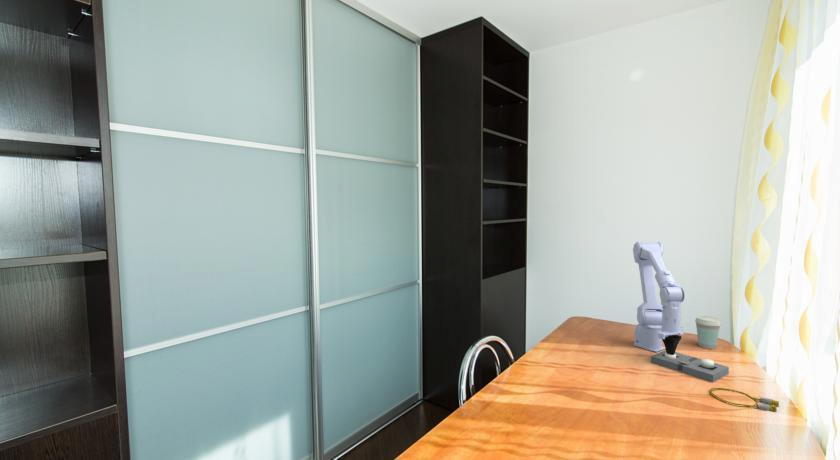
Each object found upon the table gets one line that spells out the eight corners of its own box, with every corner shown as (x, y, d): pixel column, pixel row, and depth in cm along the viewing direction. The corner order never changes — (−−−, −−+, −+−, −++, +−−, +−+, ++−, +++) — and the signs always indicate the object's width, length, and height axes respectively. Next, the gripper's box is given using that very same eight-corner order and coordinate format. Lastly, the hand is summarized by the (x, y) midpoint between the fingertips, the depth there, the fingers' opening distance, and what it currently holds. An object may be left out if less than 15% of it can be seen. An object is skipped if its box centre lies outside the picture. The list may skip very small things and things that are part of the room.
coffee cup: (711, 343, 164) (712, 315, 163) (725, 350, 156) (725, 321, 155) (690, 343, 165) (690, 315, 164) (702, 350, 156) (703, 321, 156)
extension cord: (763, 419, 106) (764, 412, 106) (701, 395, 120) (701, 388, 120) (785, 409, 111) (785, 402, 111) (723, 387, 125) (723, 381, 125)
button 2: (699, 365, 135) (699, 359, 135) (704, 363, 137) (704, 357, 137) (711, 368, 132) (711, 363, 132) (715, 366, 134) (716, 360, 133)
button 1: (662, 358, 145) (662, 353, 145) (667, 356, 147) (667, 351, 147) (673, 361, 142) (673, 356, 142) (678, 359, 144) (678, 354, 144)
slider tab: (678, 361, 138) (678, 354, 138) (681, 360, 139) (681, 352, 139) (686, 364, 136) (687, 356, 136) (690, 363, 137) (690, 355, 137)
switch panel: (650, 362, 145) (650, 355, 145) (667, 355, 151) (667, 349, 151) (712, 382, 128) (713, 375, 128) (728, 373, 134) (728, 366, 134)
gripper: (673, 324, 136) (672, 361, 137) (692, 317, 144) (691, 353, 145) (652, 319, 142) (651, 355, 143) (672, 313, 150) (671, 347, 151)
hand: (670, 354), depth 144 cm, fingers closed, pressing on button 1
